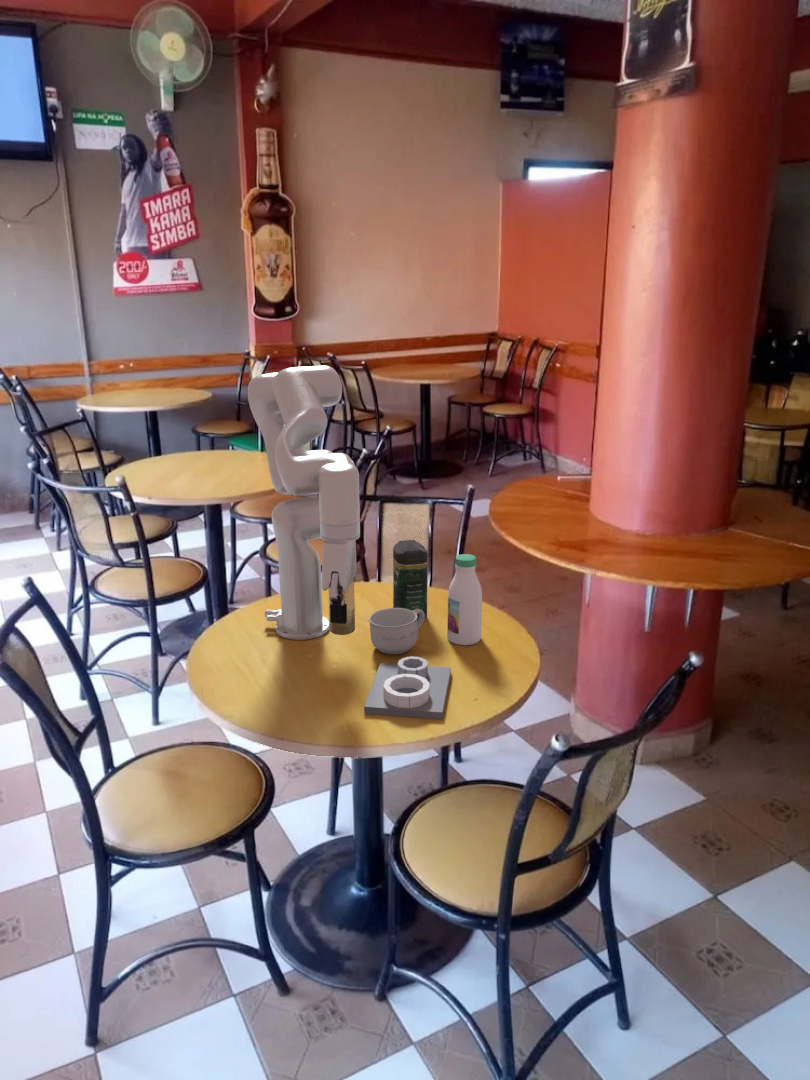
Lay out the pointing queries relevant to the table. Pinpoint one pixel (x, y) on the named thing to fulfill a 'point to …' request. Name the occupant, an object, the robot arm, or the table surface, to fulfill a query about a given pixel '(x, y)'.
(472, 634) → the milk bottle
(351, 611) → the gold cylindrical peg
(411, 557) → the coffee jar
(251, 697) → the table surface
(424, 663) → the collar board
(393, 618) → the teacup
